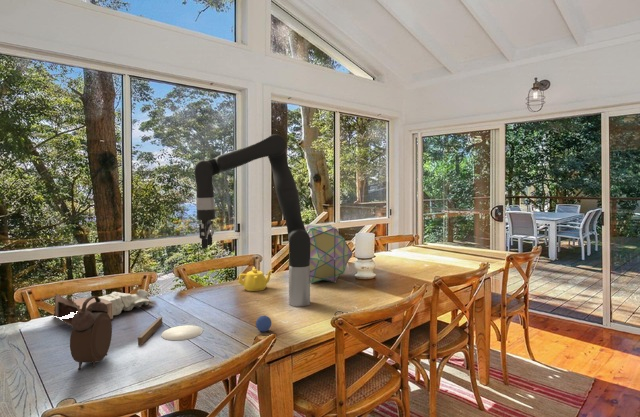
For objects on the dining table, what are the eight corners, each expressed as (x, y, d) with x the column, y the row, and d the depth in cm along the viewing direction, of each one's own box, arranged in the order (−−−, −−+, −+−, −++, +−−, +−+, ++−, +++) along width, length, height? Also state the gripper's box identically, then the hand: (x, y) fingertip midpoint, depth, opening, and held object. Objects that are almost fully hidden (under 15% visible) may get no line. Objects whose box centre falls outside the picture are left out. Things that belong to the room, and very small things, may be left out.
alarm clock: (91, 353, 126) (88, 291, 125) (114, 352, 126) (112, 290, 125) (65, 375, 111) (62, 305, 110) (92, 374, 112) (89, 304, 111)
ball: (272, 328, 147) (271, 313, 147) (270, 333, 142) (270, 318, 141) (256, 328, 147) (256, 313, 147) (255, 334, 142) (254, 318, 141)
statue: (163, 312, 168) (162, 289, 167) (69, 335, 142) (68, 308, 142) (138, 300, 184) (138, 278, 183) (50, 318, 159) (49, 294, 158)
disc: (206, 325, 150) (206, 324, 150) (197, 340, 136) (197, 339, 136) (168, 326, 150) (168, 325, 150) (155, 341, 136) (155, 340, 136)
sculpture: (282, 281, 216) (282, 226, 214) (314, 271, 240) (314, 222, 238) (328, 290, 199) (328, 230, 197) (358, 278, 223) (358, 225, 221)
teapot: (274, 287, 204) (273, 268, 204) (256, 293, 193) (256, 273, 192) (253, 284, 212) (253, 265, 211) (235, 289, 200) (235, 270, 200)
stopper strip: (162, 323, 152) (162, 317, 152) (141, 344, 132) (141, 337, 132) (159, 323, 152) (158, 317, 152) (138, 344, 132) (137, 337, 132)
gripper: (210, 209, 161) (212, 249, 162) (218, 207, 175) (219, 243, 176) (192, 209, 161) (193, 249, 162) (201, 207, 175) (202, 244, 176)
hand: (207, 246), depth 169 cm, fingers open, 8 cm apart
